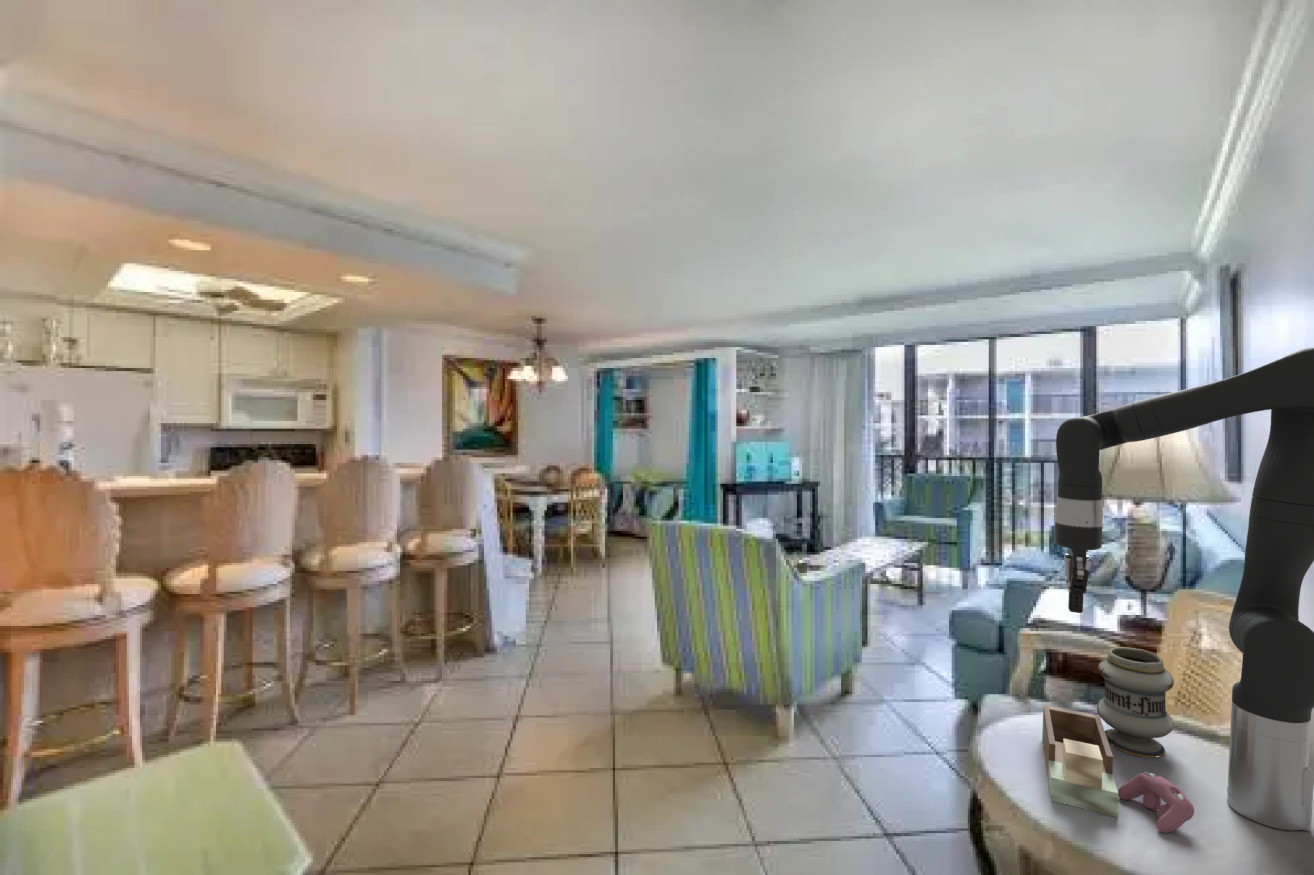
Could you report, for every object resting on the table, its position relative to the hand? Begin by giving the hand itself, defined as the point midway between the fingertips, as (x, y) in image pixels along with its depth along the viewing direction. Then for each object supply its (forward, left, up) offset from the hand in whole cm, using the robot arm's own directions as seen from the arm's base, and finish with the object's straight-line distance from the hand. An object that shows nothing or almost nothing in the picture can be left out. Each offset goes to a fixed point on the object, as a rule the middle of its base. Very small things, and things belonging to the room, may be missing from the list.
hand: (1075, 611), depth 122 cm
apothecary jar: (-11, -8, -27) cm, 30 cm away
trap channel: (0, +10, -27) cm, 29 cm away
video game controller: (-10, +17, -27) cm, 34 cm away
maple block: (0, +19, -23) cm, 30 cm away
